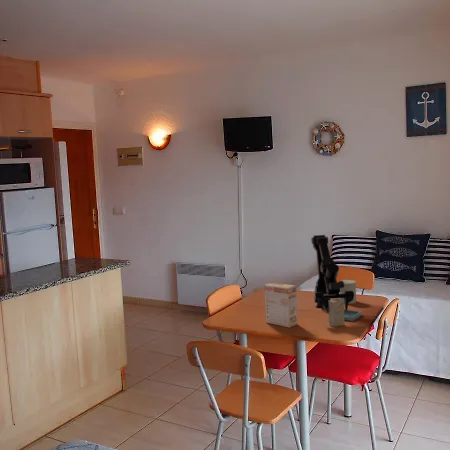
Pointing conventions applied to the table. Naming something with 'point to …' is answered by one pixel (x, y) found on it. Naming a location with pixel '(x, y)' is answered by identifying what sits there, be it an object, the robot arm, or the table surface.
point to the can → (349, 289)
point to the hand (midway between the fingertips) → (337, 311)
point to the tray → (351, 315)
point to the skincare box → (336, 312)
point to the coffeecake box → (281, 304)
